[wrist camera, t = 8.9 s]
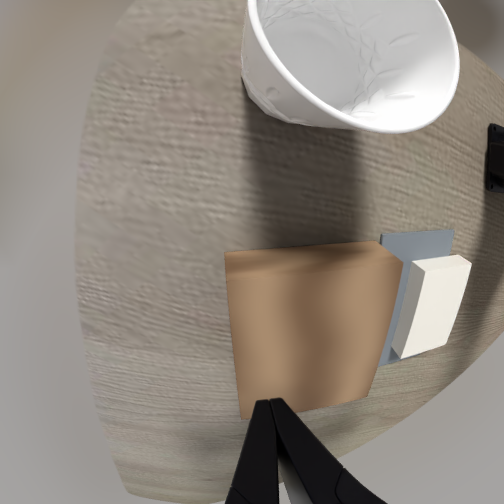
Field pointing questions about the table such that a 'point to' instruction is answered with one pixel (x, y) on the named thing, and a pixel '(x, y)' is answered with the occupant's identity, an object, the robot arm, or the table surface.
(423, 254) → the mat
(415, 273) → the white sticky note pad
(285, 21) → the white cup
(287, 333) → the tan beveled block
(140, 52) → the table surface
